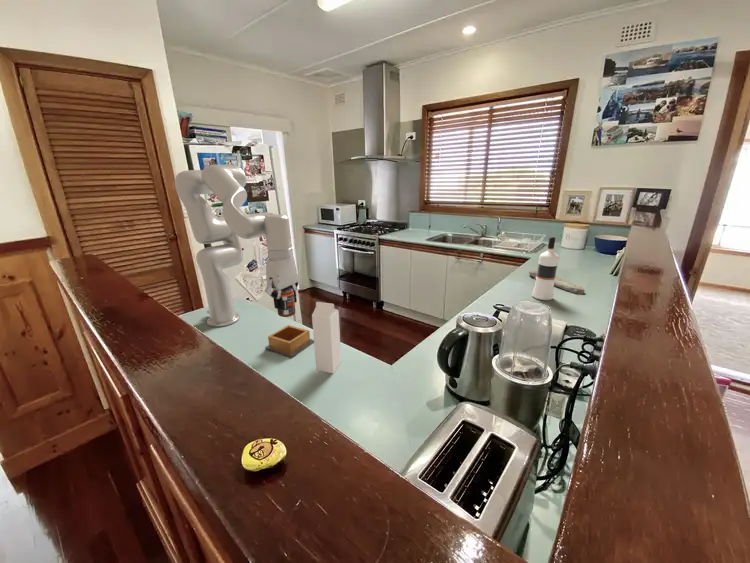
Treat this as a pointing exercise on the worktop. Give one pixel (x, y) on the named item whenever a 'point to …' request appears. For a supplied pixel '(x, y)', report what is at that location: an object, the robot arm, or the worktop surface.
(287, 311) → the supplement bottle
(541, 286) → the vodka
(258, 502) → the worktop surface
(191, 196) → the robot arm
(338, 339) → the milk
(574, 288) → the elongated rock
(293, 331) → the square wooden tray
